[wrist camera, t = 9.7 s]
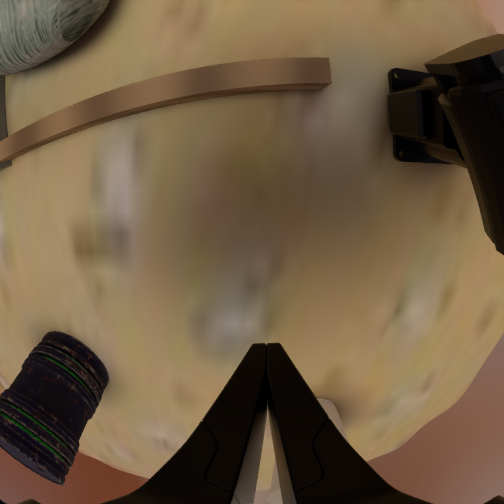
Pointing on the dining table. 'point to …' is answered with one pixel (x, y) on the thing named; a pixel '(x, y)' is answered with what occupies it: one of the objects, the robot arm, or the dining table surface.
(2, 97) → the end stop
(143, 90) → the guide rails
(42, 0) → the spool
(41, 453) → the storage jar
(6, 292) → the dining table surface
